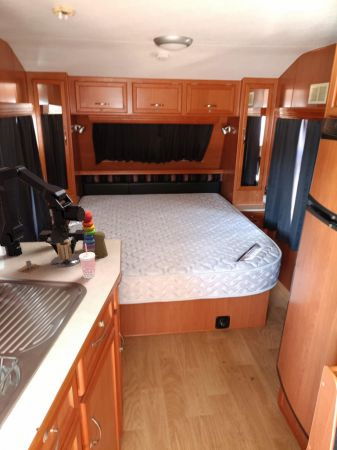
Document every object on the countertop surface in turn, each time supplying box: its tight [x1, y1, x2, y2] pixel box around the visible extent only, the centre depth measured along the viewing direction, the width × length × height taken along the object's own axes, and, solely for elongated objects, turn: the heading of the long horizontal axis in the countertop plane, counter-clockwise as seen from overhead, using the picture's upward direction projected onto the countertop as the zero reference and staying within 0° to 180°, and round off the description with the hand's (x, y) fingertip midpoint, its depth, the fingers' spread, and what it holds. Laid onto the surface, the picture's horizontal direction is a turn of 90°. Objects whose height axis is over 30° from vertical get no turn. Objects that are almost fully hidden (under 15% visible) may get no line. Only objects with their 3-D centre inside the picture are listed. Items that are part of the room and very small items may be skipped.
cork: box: [93, 231, 109, 259], centre depth 144 cm, size 6×6×11 cm
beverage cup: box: [78, 243, 96, 279], centre depth 127 cm, size 6×6×14 cm
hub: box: [50, 253, 81, 269], centre depth 140 cm, size 13×13×6 cm
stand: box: [16, 260, 42, 275], centre depth 134 cm, size 7×7×4 cm
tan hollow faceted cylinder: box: [56, 240, 73, 260], centre depth 138 cm, size 6×6×6 cm
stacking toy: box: [81, 210, 97, 253], centre depth 149 cm, size 8×8×19 cm
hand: (65, 253), depth 139 cm, fingers closed on tan hollow faceted cylinder, 6 cm apart
